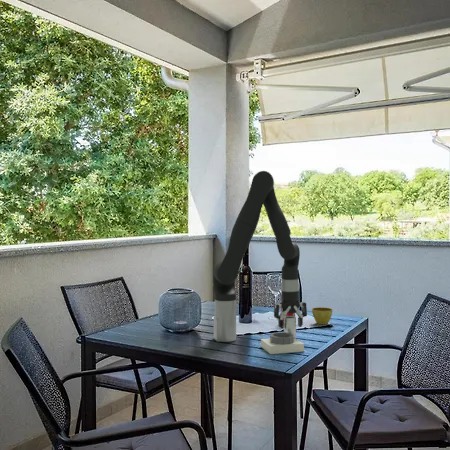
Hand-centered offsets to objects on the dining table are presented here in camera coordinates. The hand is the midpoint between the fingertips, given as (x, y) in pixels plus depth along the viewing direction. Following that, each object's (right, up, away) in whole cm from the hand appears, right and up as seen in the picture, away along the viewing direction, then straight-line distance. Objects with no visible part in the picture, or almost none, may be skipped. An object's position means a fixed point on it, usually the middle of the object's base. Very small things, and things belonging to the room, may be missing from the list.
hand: (290, 327), depth 201 cm
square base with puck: (-5, -6, -13) cm, 15 cm away
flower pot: (+20, -5, +32) cm, 38 cm away
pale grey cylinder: (0, -6, 0) cm, 6 cm away
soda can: (+3, -5, +33) cm, 33 cm away
